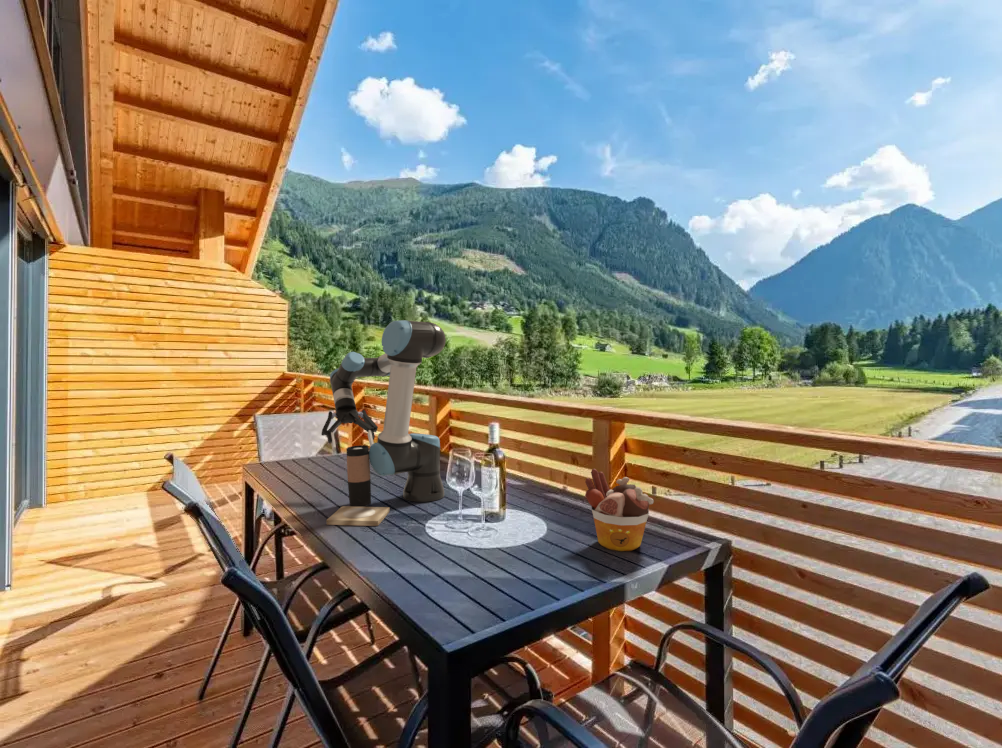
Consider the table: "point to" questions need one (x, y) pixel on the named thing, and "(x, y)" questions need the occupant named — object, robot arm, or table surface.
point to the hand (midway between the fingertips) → (353, 447)
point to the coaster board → (358, 516)
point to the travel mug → (359, 476)
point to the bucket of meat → (617, 512)
